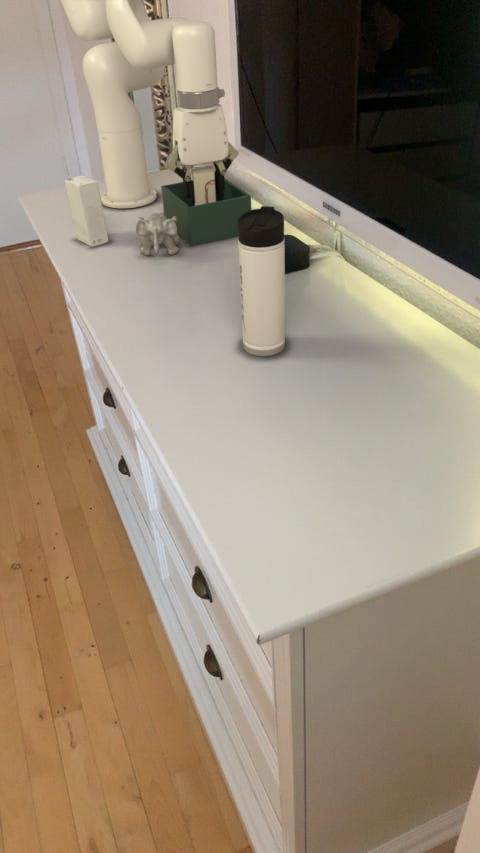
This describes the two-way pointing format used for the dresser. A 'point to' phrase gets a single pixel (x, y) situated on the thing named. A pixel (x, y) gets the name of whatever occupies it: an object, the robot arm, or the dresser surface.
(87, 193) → the cosmetic box
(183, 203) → the bin
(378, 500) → the dresser surface
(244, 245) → the travel mug
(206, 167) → the cream printed box
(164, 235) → the gray elephant figurine
